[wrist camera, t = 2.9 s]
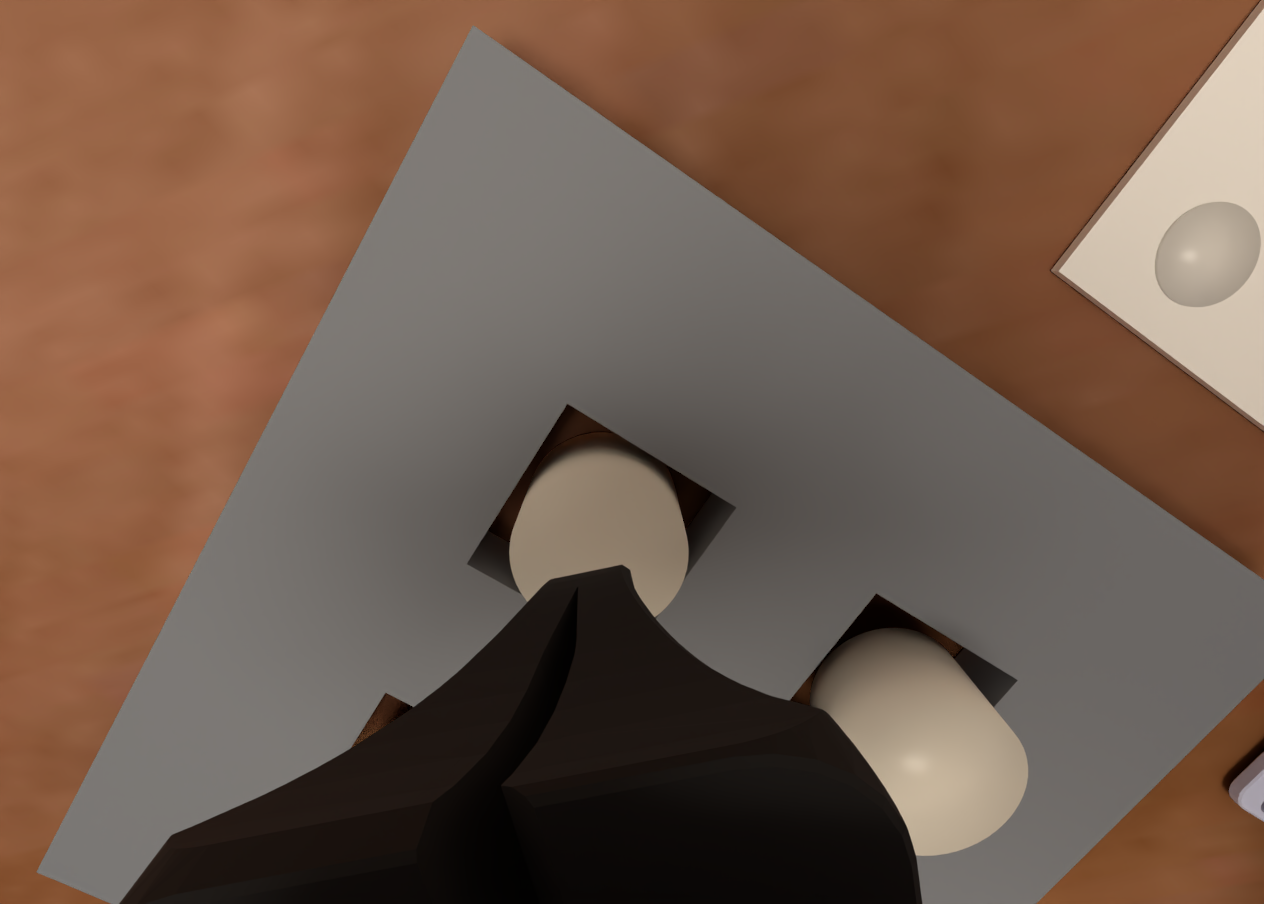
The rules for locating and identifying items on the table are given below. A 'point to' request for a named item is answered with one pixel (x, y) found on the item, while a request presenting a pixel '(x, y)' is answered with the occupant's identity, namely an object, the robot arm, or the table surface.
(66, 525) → the table surface
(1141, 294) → the card
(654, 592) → the button
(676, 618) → the board
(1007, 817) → the button
